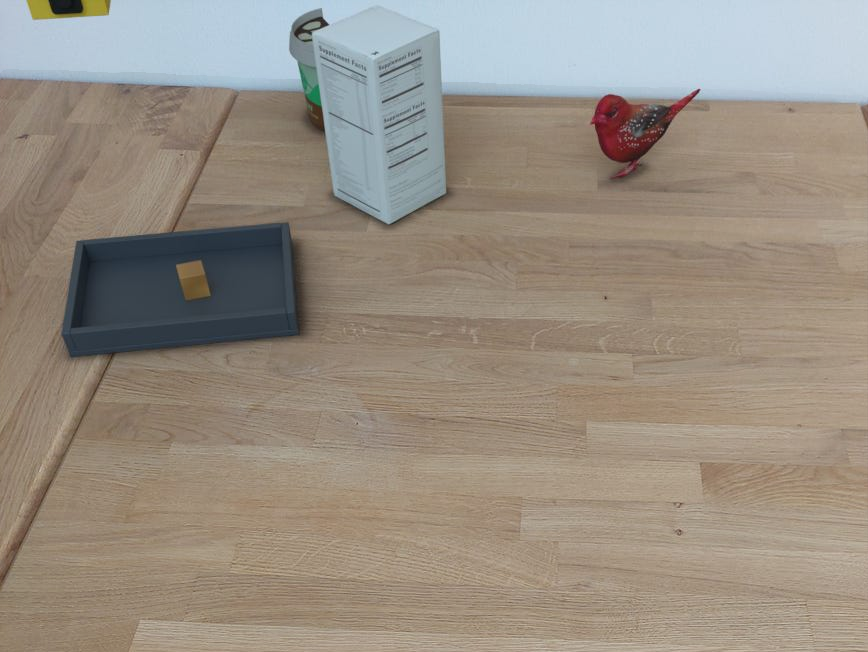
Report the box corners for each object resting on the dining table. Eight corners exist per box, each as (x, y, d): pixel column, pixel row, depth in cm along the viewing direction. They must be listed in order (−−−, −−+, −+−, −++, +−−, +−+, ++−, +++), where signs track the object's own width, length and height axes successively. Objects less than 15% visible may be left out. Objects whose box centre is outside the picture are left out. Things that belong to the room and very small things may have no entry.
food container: (285, 105, 120) (270, 16, 112) (330, 94, 122) (319, 6, 114) (322, 149, 114) (309, 58, 106) (369, 137, 116) (360, 47, 108)
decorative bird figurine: (574, 190, 109) (582, 97, 100) (682, 138, 115) (697, 48, 107) (592, 200, 107) (601, 107, 99) (700, 148, 114) (716, 57, 106)
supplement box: (449, 194, 108) (444, 29, 94) (389, 227, 104) (375, 60, 91) (390, 164, 112) (377, 1, 98) (330, 195, 108) (308, 29, 94)
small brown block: (186, 301, 96) (179, 278, 94) (182, 286, 97) (175, 264, 95) (211, 296, 96) (205, 273, 94) (207, 282, 97) (201, 259, 95)
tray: (70, 357, 91) (60, 334, 89) (84, 263, 100) (76, 240, 98) (299, 334, 93) (294, 311, 91) (292, 244, 102) (288, 221, 100)
